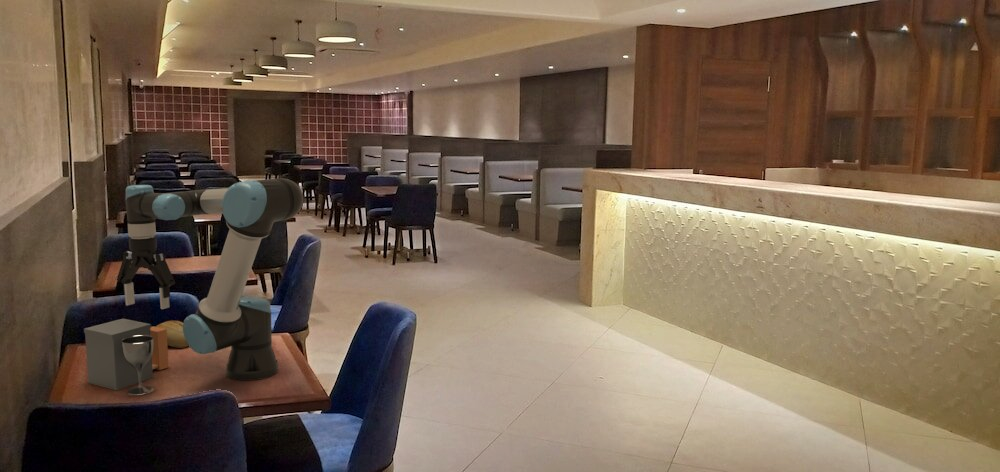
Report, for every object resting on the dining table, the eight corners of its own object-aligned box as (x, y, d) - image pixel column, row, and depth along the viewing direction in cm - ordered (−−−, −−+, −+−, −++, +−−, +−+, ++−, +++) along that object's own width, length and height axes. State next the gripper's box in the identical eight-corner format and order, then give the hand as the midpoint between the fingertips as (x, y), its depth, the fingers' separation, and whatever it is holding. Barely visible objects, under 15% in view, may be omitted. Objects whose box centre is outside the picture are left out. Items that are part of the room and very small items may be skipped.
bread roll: (165, 338, 263) (164, 315, 262) (199, 343, 258) (198, 320, 257) (143, 345, 255) (142, 322, 253) (178, 351, 249) (177, 328, 248)
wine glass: (118, 393, 212) (114, 341, 210) (140, 384, 220) (137, 333, 217) (140, 397, 209) (137, 344, 207) (162, 388, 217) (159, 337, 214)
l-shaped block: (168, 367, 233) (166, 329, 231) (137, 377, 224) (134, 338, 222) (154, 363, 236) (152, 326, 234) (123, 374, 226) (121, 335, 224)
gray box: (154, 377, 225) (151, 323, 223) (115, 390, 214) (112, 334, 211) (127, 370, 231) (123, 318, 228) (87, 383, 219) (83, 328, 217)
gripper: (184, 237, 227) (189, 306, 230) (120, 233, 236) (126, 300, 239) (165, 240, 220) (170, 312, 223) (100, 236, 229) (106, 305, 232)
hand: (147, 306), depth 231 cm, fingers open, 13 cm apart
